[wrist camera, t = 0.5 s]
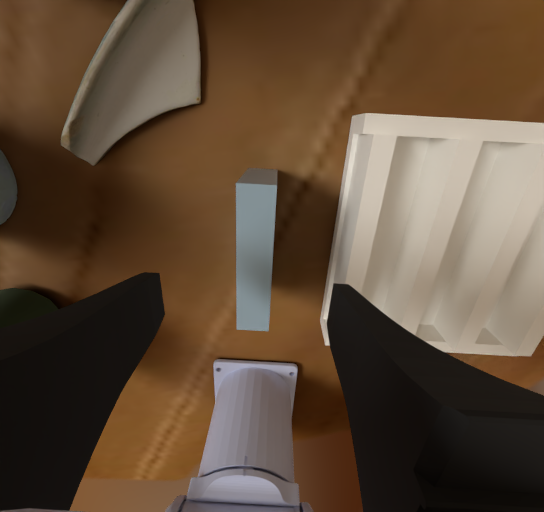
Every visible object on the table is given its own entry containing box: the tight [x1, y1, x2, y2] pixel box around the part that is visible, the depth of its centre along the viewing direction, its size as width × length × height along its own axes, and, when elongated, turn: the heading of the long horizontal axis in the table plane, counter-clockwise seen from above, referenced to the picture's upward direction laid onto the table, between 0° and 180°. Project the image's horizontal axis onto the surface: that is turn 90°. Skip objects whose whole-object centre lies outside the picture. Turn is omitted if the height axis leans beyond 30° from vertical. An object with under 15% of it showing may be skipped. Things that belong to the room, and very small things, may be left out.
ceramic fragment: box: [61, 0, 201, 166], centre depth 15 cm, size 14×5×4 cm, turn 136°
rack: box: [320, 113, 544, 356], centre depth 18 cm, size 16×15×4 cm
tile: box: [236, 168, 277, 331], centre depth 18 cm, size 9×2×6 cm, turn 177°
